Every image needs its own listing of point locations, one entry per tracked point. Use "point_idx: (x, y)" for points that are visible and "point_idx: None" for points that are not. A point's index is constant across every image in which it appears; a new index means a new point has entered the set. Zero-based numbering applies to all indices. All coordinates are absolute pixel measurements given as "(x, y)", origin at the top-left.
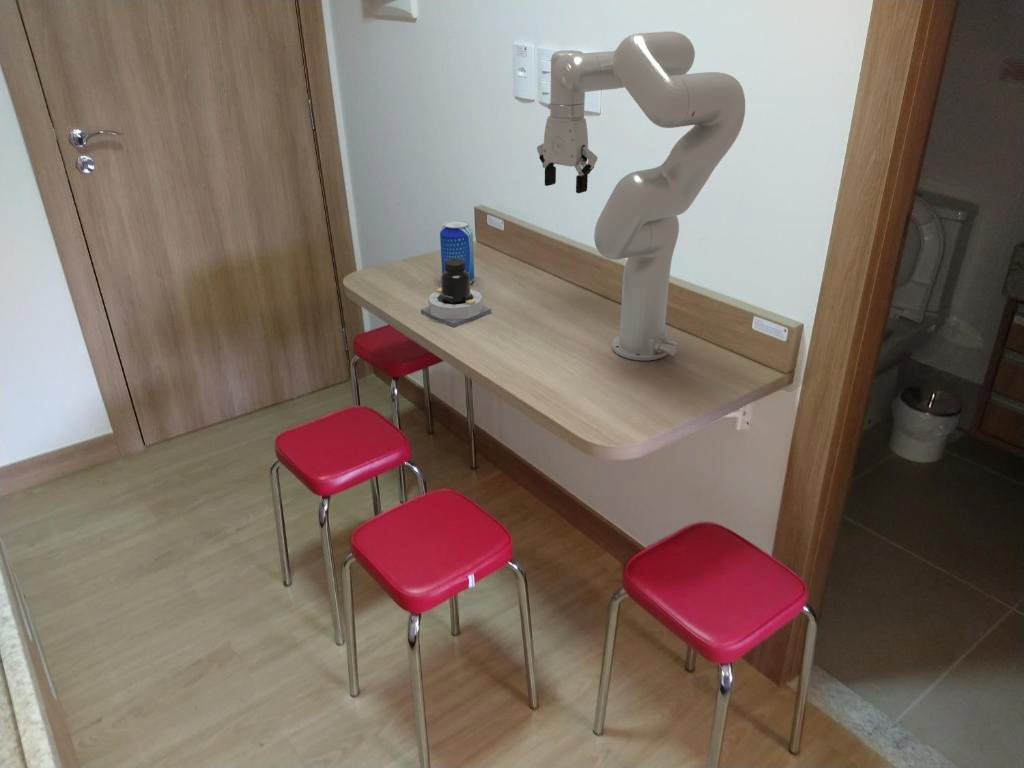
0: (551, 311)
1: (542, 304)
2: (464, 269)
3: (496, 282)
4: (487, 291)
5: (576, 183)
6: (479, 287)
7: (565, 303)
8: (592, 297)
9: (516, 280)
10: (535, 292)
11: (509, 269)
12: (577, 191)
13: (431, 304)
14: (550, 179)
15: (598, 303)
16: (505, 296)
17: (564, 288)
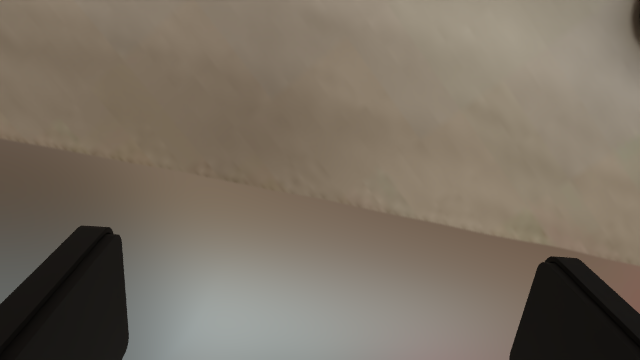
0: (292, 2)
1: (348, 31)
2: None
3: (569, 86)
4: (556, 5)
5: (51, 283)
6: (597, 16)
7: (298, 83)
8: (265, 168)
9: (523, 137)
10: (422, 96)
11: (586, 191)
12: (80, 229)
13: None
14: (556, 337)
15: (224, 143)
16: (483, 9)
17: (369, 173)
